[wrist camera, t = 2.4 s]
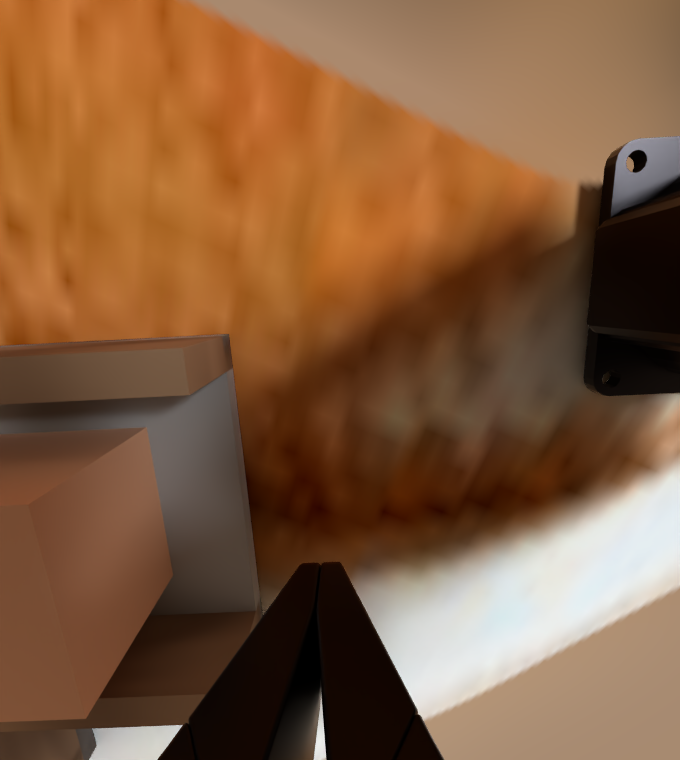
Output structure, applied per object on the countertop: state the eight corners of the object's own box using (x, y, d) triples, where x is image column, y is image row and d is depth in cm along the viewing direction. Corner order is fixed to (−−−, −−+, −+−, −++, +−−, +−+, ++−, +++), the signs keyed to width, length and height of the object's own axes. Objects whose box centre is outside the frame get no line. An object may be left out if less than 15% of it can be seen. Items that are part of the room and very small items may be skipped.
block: (146, 427, 10) (28, 504, 6) (173, 574, 11) (85, 718, 7) (-24, 435, 10) (-246, 517, 6) (18, 582, 11) (-149, 727, 8)
